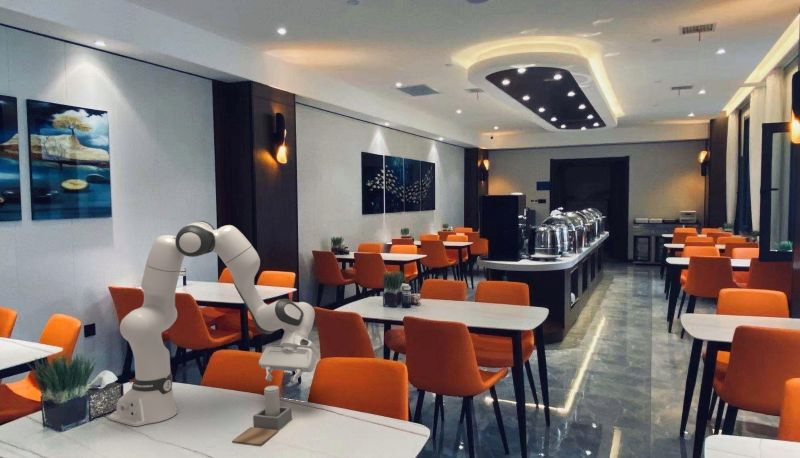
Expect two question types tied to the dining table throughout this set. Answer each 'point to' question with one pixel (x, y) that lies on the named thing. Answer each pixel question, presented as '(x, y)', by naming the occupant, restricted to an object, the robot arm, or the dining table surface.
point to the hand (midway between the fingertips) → (280, 381)
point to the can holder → (272, 419)
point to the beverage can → (272, 401)
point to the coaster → (255, 436)
